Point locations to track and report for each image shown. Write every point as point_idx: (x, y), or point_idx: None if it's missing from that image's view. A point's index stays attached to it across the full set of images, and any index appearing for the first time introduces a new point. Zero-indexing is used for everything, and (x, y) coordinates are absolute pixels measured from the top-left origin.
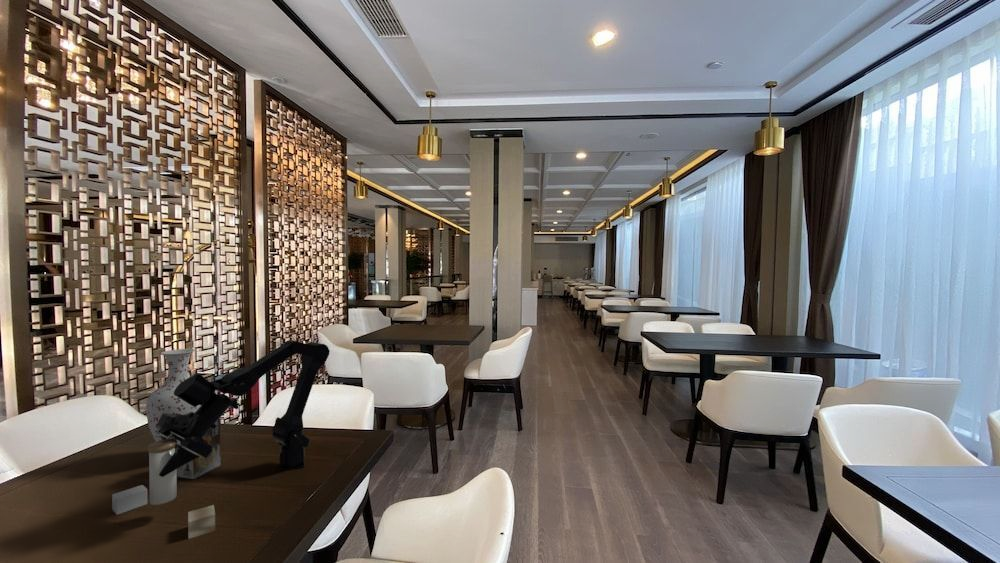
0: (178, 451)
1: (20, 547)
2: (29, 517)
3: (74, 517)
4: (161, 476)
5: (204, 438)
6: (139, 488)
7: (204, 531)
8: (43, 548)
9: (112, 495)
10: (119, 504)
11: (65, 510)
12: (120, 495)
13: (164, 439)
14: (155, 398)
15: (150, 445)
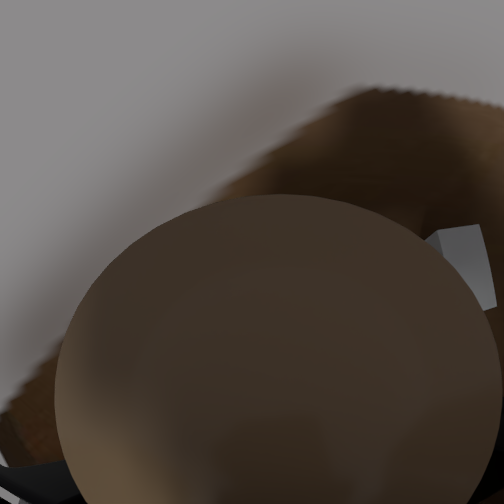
0: (42, 467)
1: (375, 97)
2: (493, 122)
3: (459, 171)
4: None
5: None
6: (476, 296)
7: None
8: (339, 119)
9: (475, 225)
10: (430, 243)
11: (498, 165)
12: (459, 242)
13: (482, 475)
14: None
15: (326, 229)
